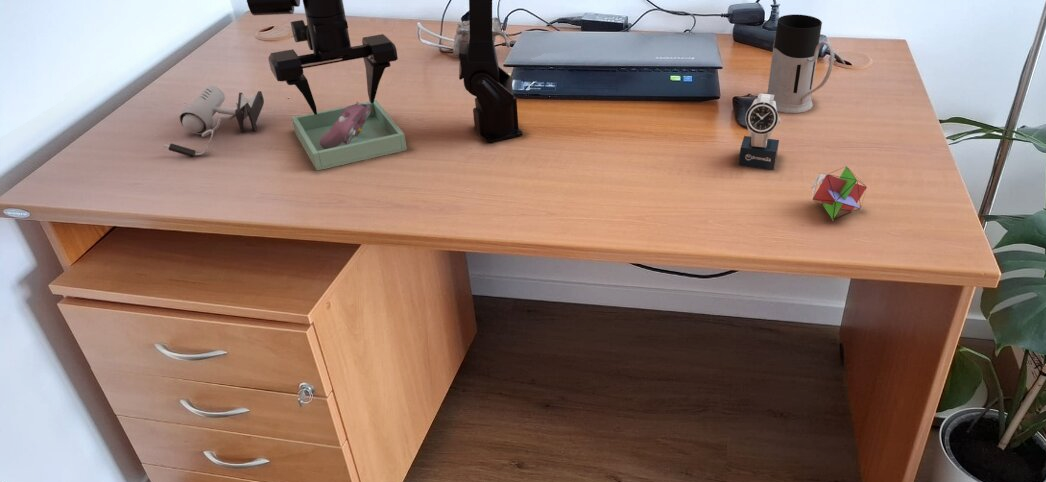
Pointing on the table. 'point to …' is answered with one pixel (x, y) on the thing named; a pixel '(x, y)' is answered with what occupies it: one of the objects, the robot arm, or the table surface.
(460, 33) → the elephant statuette
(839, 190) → the geometric puzzle
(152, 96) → the table surface
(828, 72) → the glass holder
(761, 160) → the watch
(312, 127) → the tray
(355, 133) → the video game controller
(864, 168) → the table surface
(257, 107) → the clip-on lamp
